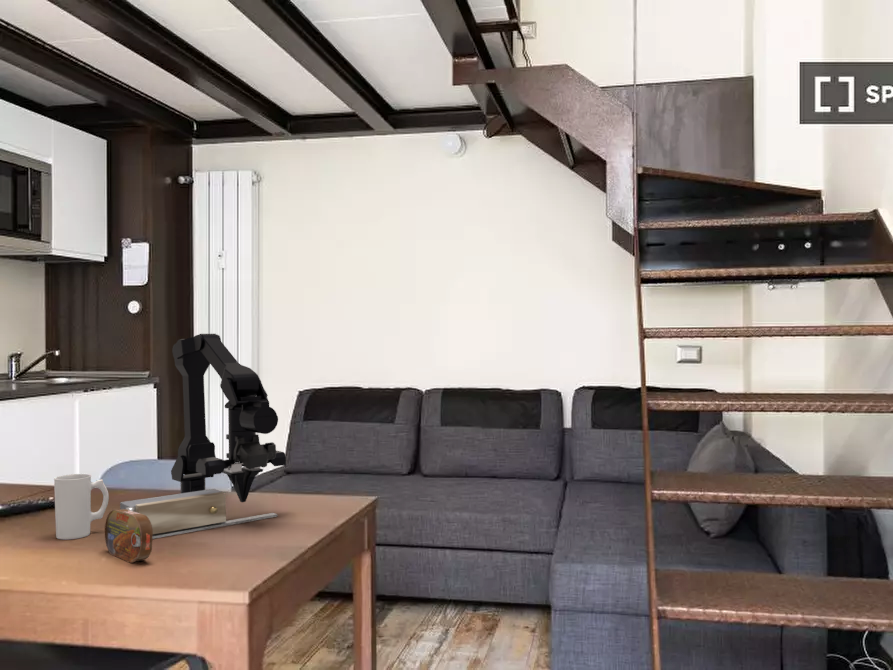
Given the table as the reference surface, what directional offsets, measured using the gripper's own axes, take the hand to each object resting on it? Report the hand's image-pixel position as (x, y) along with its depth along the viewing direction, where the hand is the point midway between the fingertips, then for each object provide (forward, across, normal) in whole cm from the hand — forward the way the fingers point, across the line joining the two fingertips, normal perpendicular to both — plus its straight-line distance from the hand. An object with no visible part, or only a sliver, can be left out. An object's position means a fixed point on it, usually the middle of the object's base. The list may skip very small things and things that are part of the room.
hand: (243, 501), depth 164 cm
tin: (+5, -27, -11) cm, 30 cm away
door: (+3, -13, -1) cm, 14 cm away
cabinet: (+4, -13, +4) cm, 15 cm away
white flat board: (+4, -8, 0) cm, 9 cm away
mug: (+4, -29, +12) cm, 32 cm away
